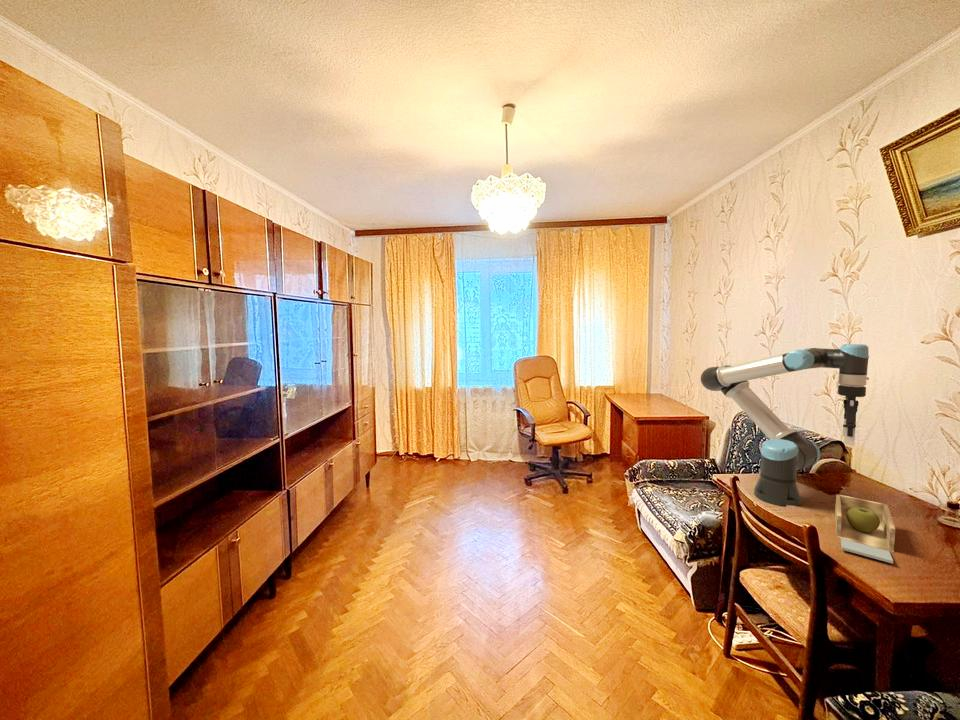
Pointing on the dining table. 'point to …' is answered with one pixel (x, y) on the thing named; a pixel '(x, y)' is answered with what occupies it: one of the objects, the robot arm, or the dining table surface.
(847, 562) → the dining table surface
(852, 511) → the apple
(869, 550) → the pale blue panel
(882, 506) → the crate
